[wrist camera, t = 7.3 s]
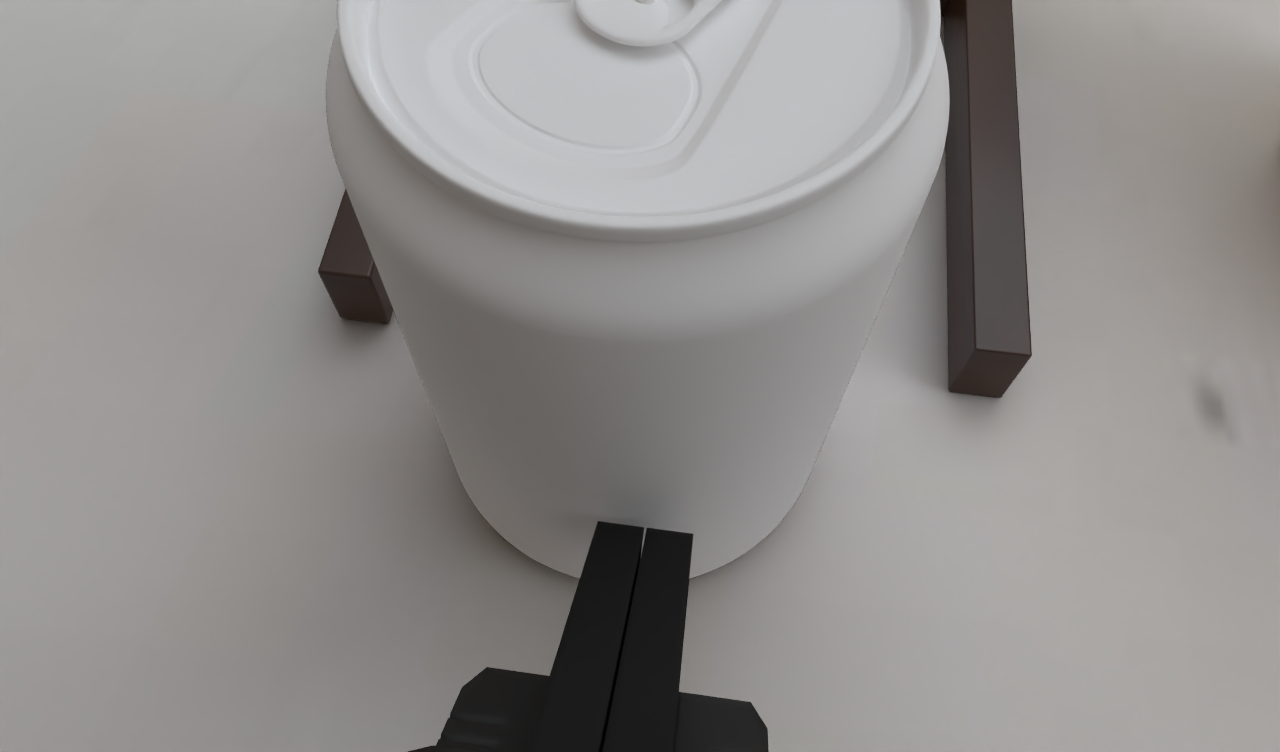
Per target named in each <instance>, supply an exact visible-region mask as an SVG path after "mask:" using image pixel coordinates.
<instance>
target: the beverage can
mask: <svg viewBox="0 0 1280 752" xmlns="http://www.w3.org/2000/svg"><path fill="white" fill-rule="evenodd" d="M337 26H338V27H337V30H336V33H335V37H334V40H333V44H332V48H331V53H330V58H329V63H328V71H327V81H326V113H327V123H328V130H329V136H330V141H331V146H332V150H333V154H334V157H335V160H336V164H337V166H338V169H339V172H340V174H341V177H342V180H343V183H344V185H345V188H346V190H347V193H348V195H349V198H350V201H351V203H352V206H353V208H354V211H355V213H356V216H357V218H358V221H359V224H360V226H361V229H362V231H363V234H364V236H365V239H366V241H367V244H368V246H369V249H370V251H371V254H372V257H373V259H374V262H375V264H376V267H377V269H378V272H379V274H380V277H381V279H382V282H383V285H384V287H385V290H386V292H387V295H388V297H389V300H390V302H391V305H392V307H393V310H394V313H395V315H396V318H397V320H398V323H399V325H400V328H401V330H402V333H403V335H404V338H405V340H406V343H407V346H408V348H409V351H410V353H411V356H412V358H413V361H414V363H415V366H416V368H417V371H418V374H419V376H420V379H421V381H422V384H423V386H424V389H425V391H426V394H427V396H428V399H429V402H430V404H431V407H432V409H433V412H434V414H435V417H436V419H437V422H438V424H439V427H440V430H441V432H442V435H443V437H444V440H445V442H446V445H447V447H448V450H449V452H450V455H451V457H452V460H453V463H454V465H455V468H456V470H457V473H458V475H459V477H460V479H461V482H462V484H463V486H464V488H465V490H466V491H467V493H468V495H469V497H470V498H471V500H472V502H473V503H474V505H475V506H476V508H477V509H478V510H479V512H480V513H481V514H482V516H483V517H484V518H485V519H486V520H487V522H488V523H489V524H490V525H491V526H492V527H493V528H494V529H495V530H496V531H497V532H498V533H499V534H500V535H501V536H502V537H503V538H504V539H506V540H507V541H508V542H509V543H511V544H512V545H513V546H514V547H516V548H517V549H518V550H520V551H521V552H523V553H524V554H526V555H527V556H529V557H531V558H532V559H534V560H536V561H538V562H539V563H541V564H543V565H545V566H547V567H550V568H552V569H554V570H556V571H559V572H561V573H564V574H567V575H570V576H573V577H576V578H580V577H581V574H582V570H583V567H584V564H585V561H586V557H587V554H588V551H589V548H590V545H591V541H592V538H593V535H594V532H595V528H596V525H597V522H598V521H601V522H609V523H616V524H624V525H631V526H639V527H644V533H643V542H642V549H643V544H644V539H645V534H646V529H647V528H654V529H661V530H669V531H676V532H684V533H691V534H693V544H692V555H691V565H690V576H689V578H693V577H696V576H699V575H702V574H705V573H707V572H710V571H712V570H715V569H717V568H719V567H721V566H723V565H725V564H727V563H729V562H731V561H733V560H735V559H736V558H738V557H740V556H741V555H743V554H744V553H746V552H747V551H749V550H750V549H752V548H753V547H754V546H756V545H757V544H758V543H759V542H761V541H762V540H763V539H764V538H765V537H766V536H767V535H769V534H770V533H771V532H772V531H773V530H774V529H775V528H776V527H777V525H778V524H779V523H780V522H781V521H782V520H783V519H784V517H785V516H786V515H787V514H788V512H789V511H790V510H791V508H792V507H793V505H794V504H795V502H796V501H797V499H798V497H799V496H800V494H801V492H802V490H803V488H804V486H805V484H806V482H807V480H808V478H809V476H810V473H811V471H812V469H813V466H814V464H815V462H816V459H817V457H818V455H819V452H820V450H821V448H822V445H823V443H824V440H825V438H826V436H827V433H828V431H829V429H830V426H831V424H832V421H833V419H834V417H835V414H836V412H837V410H838V407H839V405H840V403H841V400H842V398H843V395H844V393H845V391H846V388H847V386H848V384H849V381H850V379H851V376H852V374H853V372H854V369H855V367H856V365H857V362H858V360H859V358H860V355H861V353H862V350H863V348H864V346H865V343H866V341H867V339H868V336H869V334H870V331H871V329H872V327H873V324H874V322H875V320H876V317H877V315H878V313H879V310H880V308H881V305H882V303H883V301H884V298H885V296H886V294H887V291H888V289H889V286H890V284H891V282H892V279H893V277H894V275H895V272H896V270H897V267H898V265H899V263H900V260H901V258H902V256H903V253H904V251H905V249H906V246H907V244H908V241H909V239H910V237H911V234H912V232H913V230H914V227H915V225H916V222H917V220H918V218H919V215H920V213H921V211H922V208H923V206H924V203H925V201H926V199H927V196H928V194H929V192H930V189H931V187H932V184H933V181H934V179H935V176H936V174H937V171H938V168H939V165H940V162H941V159H942V155H943V151H944V147H945V142H946V136H947V130H948V121H949V106H950V95H949V79H948V70H947V63H946V59H945V54H944V50H943V45H942V42H941V38H940V26H941V10H940V0H337ZM641 554H642V551H641Z"/></svg>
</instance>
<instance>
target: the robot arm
mask: <svg viewBox="0 0 1280 752" xmlns="http://www.w3.org/2000/svg"><path fill="white" fill-rule="evenodd" d="M643 533H644V527H639V526H631V525H624V524H616V523H609V522H601V521H598V522H597V525H596V528H595V532H594V535H593V538H592V541H591V545H590V548H589V551H588V554H587V557H586V561H585V564H584V567H583V570H582V574H581V577H580V580H579V583H578V586H577V590H576V593H575V596H574V599H573V603H572V606H571V609H570V612H569V615H568V619H567V622H566V625H565V628H564V631H563V635H562V638H561V641H560V644H559V648H558V651H557V654H556V657H555V660H554V664H553V667H552V670H551V673H550V676H545V675H538V674H531V673H524V672H517V671H510V670H503V669H496V668H489V667H487V668H485V669H484V670H483V671H482V672H480V673H479V674H478V675H477V676H475V677H474V678H473V679H472V680H471V681H469V682H468V683H467V684H466V685H464V686H463V687H462V689H461V691H460V693H459V695H458V698H457V700H456V702H455V704H454V706H453V709H452V711H451V714H450V718H448V720H447V722H446V724H445V727H444V729H443V731H442V733H441V738H440V739H439V740H438V742H437V745H436V746H429V747H425V748H421V749H417V750H412V751H408V752H768V731H767V727H766V726H765V724H764V722H763V721H762V719H761V718H760V716H759V715H758V713H757V711H756V710H755V708H754V707H753V705H752V703H751V702H745V701H738V700H731V699H724V698H717V697H710V696H703V695H696V694H689V693H682V692H679V682H680V671H681V660H682V650H683V639H684V629H685V618H686V607H687V597H688V586H689V576H690V565H691V555H692V544H693V534H691V533H684V532H676V531H669V530H661V529H654V528H647V529H646V534H645V539H644V544H643V549H642V542H643ZM641 551H642V554H641Z"/></svg>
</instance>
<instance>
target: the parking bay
mask: <svg viewBox="0 0 1280 752" xmlns="http://www.w3.org/2000/svg"><path fill="white" fill-rule="evenodd" d="M940 10H941V15H944V48H945V59H946V63H947V70H948V79H949V95H950V106H949V121H948V130H947V136H946V208H947V288H948V368H949V391H950V392H958V393H967V394H975V395H983V396H992V397H1002V395H1003V394H1004V393H1005V391H1006V390H1007V389H1008V387H1009V386H1010V385H1011V383H1012V382H1013V380H1014V379H1015V378H1016V376H1017V375H1018V374H1019V372H1020V371H1021V370H1022V368H1023V367H1024V365H1025V364H1026V363H1027V361H1028V360H1029V359H1030V357H1031V356H1032V352H1031V335H1030V317H1029V299H1028V282H1027V264H1026V246H1025V228H1024V211H1023V193H1022V175H1021V158H1020V140H1019V122H1018V104H1017V87H1016V69H1015V51H1014V34H1013V16H1012V0H940ZM318 273H319V275H320V277H321V279H322V281H323V283H324V285H325V287H326V289H327V291H328V293H329V295H330V297H331V299H332V302H333V304H334V306H335V308H336V310H337V312H338V314H339V316H340V317H341V318H346V319H354V320H363V321H371V322H379V323H388V322H389V321H390V317H391V314H392V310H393V307H392V305H391V302H390V300H389V297H388V295H387V292H386V290H385V287H384V285H383V282H382V279H381V277H380V274H379V272H378V269H377V267H376V264H375V262H374V259H373V257H372V254H371V251H370V249H369V246H368V244H367V241H366V239H365V236H364V234H363V231H362V229H361V226H360V224H359V221H358V218H357V216H356V213H355V211H354V208H353V206H352V203H351V201H350V198H349V195H348V193H347V190H346V189H345V192H344V195H343V198H342V201H341V204H340V207H339V210H338V213H337V216H336V219H335V222H334V225H333V228H332V231H331V234H330V237H329V240H328V243H327V246H326V249H325V252H324V255H323V258H322V261H321V264H320V267H319V270H318Z"/></svg>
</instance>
